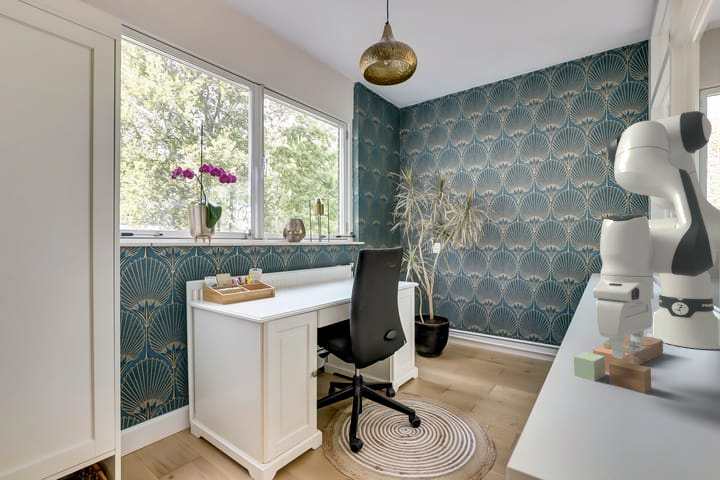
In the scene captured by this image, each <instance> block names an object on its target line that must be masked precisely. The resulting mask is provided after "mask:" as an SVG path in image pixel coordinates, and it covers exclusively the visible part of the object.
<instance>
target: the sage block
mask: <svg viewBox="0 0 720 480" xmlns="http://www.w3.org/2000/svg"><path fill="white" fill-rule="evenodd" d="M573 363H574V364H573V365H574V366H573V370H574V377H578V378H581V379H585V380H589V381H592V382H596V381H598V380H599V379H601V378H604V377H605V376H606V371H605V356H601V355H597V354H593V352H589V351H588V352H587V351H584V352H582V353H579V354H577V355H575V356H573Z"/></svg>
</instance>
